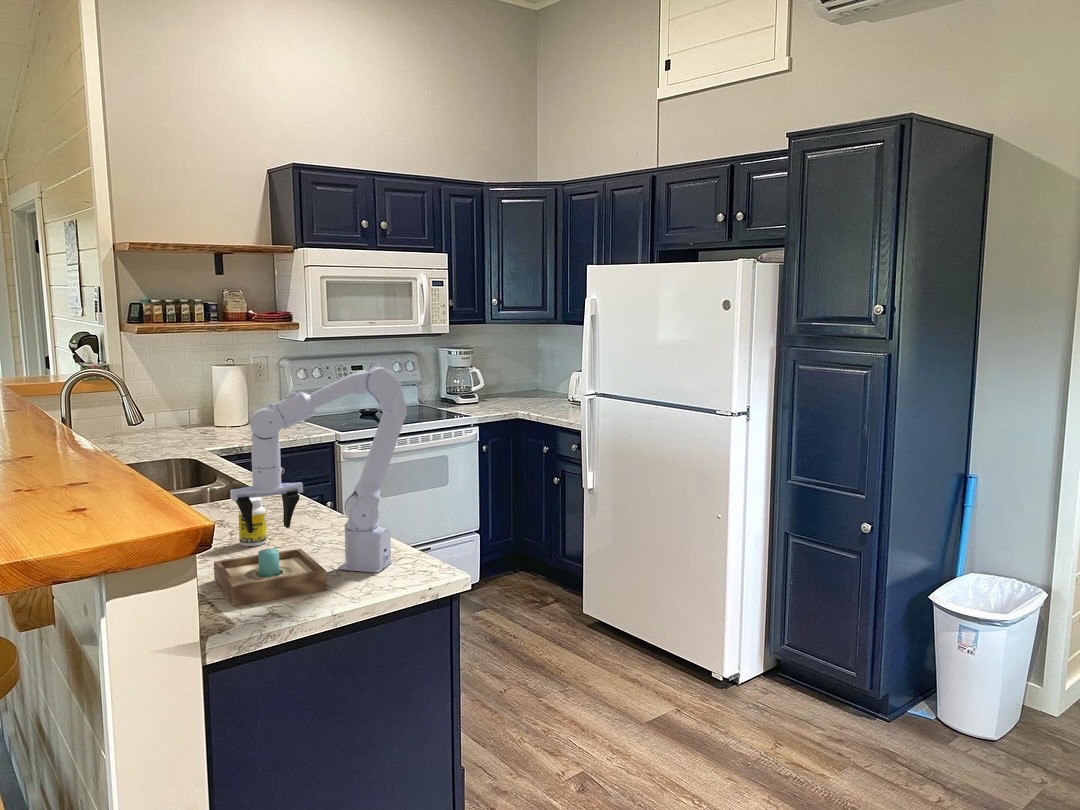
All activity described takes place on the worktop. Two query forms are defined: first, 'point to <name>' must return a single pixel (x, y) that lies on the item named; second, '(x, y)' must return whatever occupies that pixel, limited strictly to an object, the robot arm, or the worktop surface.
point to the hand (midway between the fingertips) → (268, 529)
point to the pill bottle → (254, 525)
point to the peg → (268, 563)
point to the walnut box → (269, 578)
